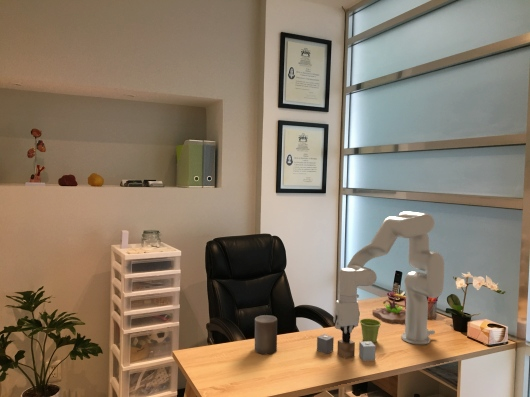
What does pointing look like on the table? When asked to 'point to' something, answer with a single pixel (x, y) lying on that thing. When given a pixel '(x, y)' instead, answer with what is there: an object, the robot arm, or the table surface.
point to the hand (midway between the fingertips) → (346, 341)
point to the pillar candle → (265, 334)
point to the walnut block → (346, 349)
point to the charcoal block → (325, 343)
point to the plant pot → (370, 329)
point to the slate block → (367, 350)
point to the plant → (391, 313)
